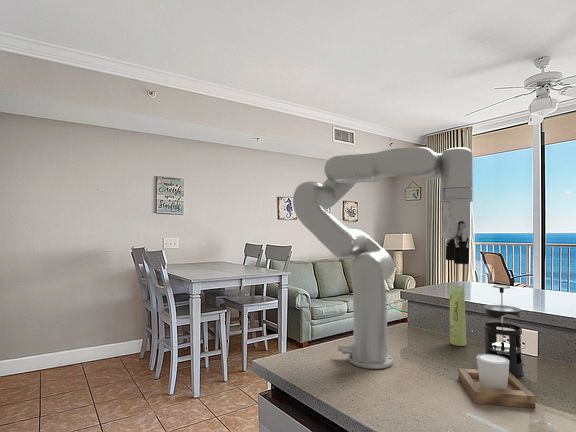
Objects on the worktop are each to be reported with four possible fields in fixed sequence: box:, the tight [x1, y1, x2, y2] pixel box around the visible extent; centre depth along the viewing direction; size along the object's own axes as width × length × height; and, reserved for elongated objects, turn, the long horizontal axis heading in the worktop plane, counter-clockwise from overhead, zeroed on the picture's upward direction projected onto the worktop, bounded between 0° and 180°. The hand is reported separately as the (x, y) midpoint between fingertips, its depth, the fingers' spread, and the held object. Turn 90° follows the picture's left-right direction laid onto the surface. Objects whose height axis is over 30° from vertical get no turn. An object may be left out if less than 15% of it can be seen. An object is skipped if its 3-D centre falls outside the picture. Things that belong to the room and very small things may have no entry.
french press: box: [483, 284, 525, 379], centre depth 102 cm, size 12×9×23 cm
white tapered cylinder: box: [476, 353, 509, 390], centre depth 87 cm, size 7×7×7 cm
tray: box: [458, 368, 536, 409], centre depth 88 cm, size 12×14×2 cm
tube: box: [449, 283, 467, 347], centre depth 124 cm, size 6×5×20 cm
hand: (456, 262), depth 97 cm, fingers open, 9 cm apart
